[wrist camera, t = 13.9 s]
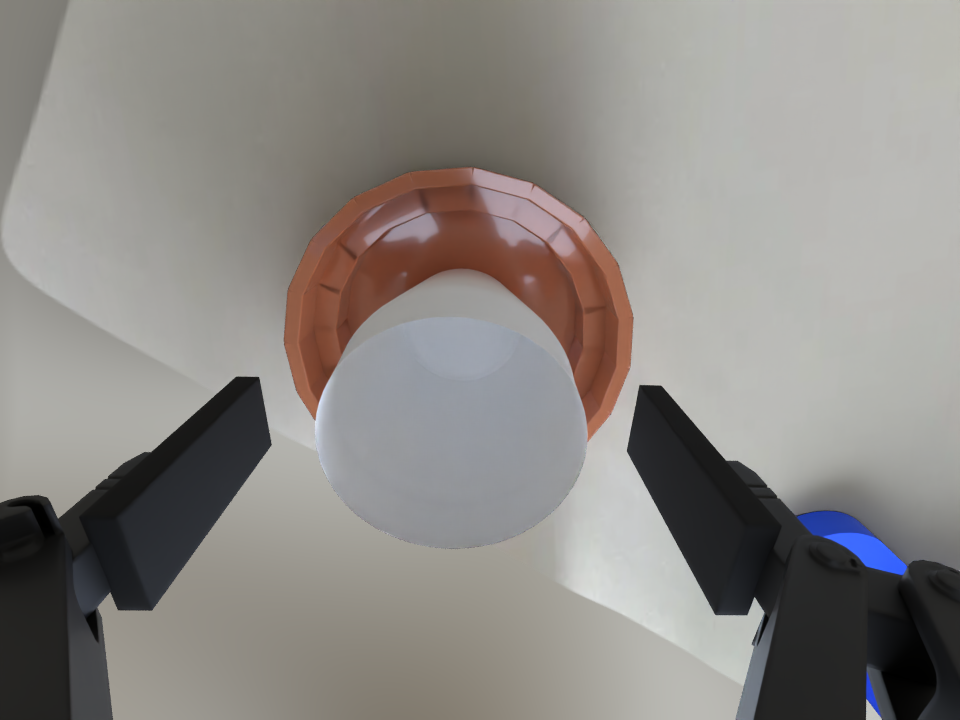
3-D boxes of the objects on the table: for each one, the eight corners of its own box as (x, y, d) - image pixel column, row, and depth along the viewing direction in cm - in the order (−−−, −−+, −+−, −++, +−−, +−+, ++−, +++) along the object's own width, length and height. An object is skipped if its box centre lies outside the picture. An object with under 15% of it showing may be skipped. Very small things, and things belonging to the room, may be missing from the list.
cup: (570, 345, 26) (642, 475, 15) (444, 422, 28) (424, 588, 17) (483, 210, 23) (490, 246, 12) (348, 306, 25) (247, 415, 14)
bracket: (951, 609, 36) (1095, 742, 27) (857, 662, 38) (964, 798, 30) (827, 491, 31) (956, 608, 23) (729, 560, 33) (814, 688, 25)
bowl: (275, 365, 27) (233, 405, 22) (403, 99, 21) (384, 79, 17) (503, 481, 30) (509, 536, 26) (663, 276, 25) (706, 300, 20)
